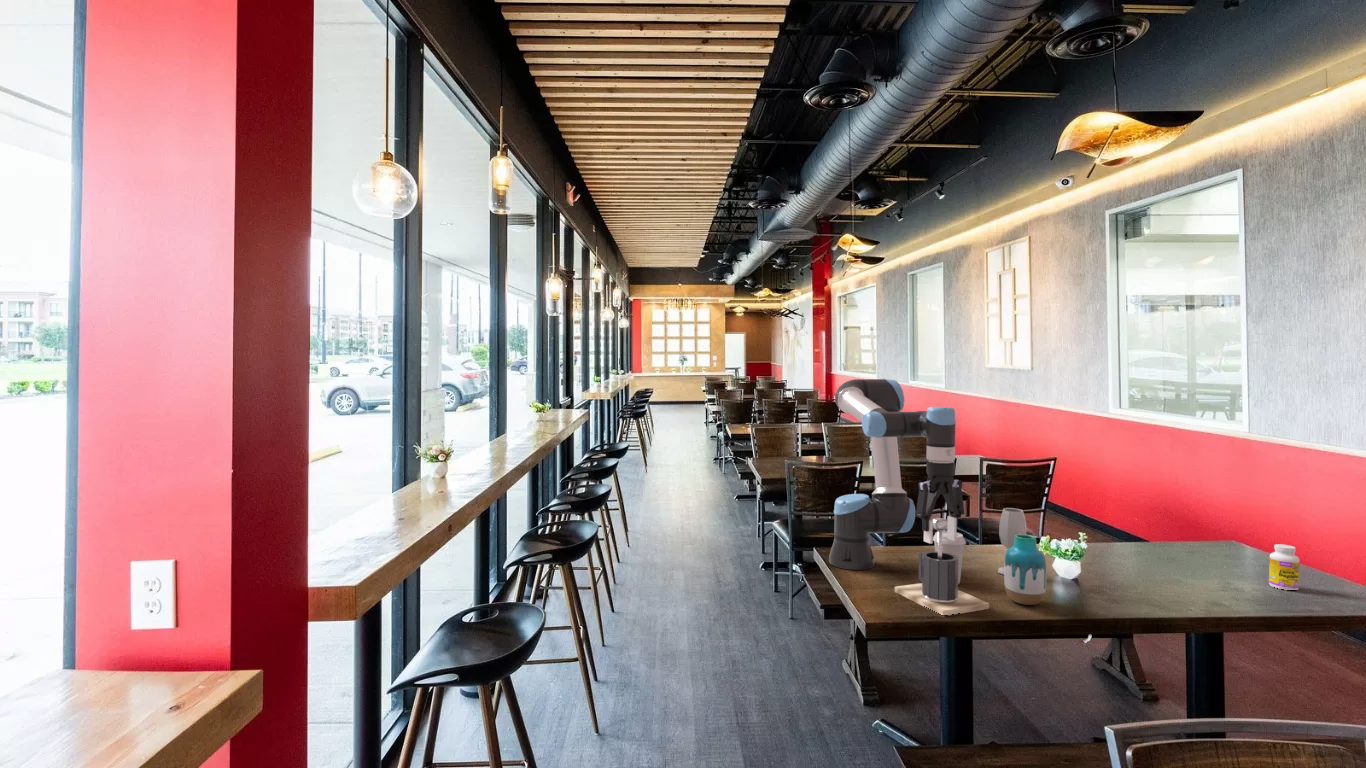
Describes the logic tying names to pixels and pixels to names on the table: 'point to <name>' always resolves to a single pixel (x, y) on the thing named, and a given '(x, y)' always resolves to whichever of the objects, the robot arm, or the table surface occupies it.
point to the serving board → (961, 606)
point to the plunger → (940, 532)
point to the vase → (1025, 571)
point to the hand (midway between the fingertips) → (940, 540)
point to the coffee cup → (952, 547)
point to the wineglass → (1011, 527)
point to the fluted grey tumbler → (939, 577)
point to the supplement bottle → (1284, 568)
